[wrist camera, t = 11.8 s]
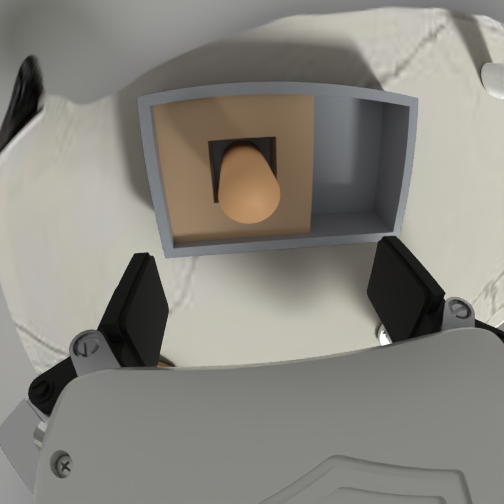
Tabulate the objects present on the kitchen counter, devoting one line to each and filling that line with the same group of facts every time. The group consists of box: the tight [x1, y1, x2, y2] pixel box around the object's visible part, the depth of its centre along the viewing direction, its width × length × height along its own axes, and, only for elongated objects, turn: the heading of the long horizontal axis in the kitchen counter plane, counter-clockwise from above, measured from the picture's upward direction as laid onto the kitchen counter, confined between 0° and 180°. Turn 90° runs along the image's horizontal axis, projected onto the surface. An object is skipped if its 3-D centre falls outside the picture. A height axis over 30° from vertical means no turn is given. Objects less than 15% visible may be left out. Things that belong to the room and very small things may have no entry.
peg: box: [218, 140, 280, 224], centre depth 22 cm, size 4×4×10 cm
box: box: [137, 81, 418, 258], centre depth 24 cm, size 24×15×6 cm, turn 92°
